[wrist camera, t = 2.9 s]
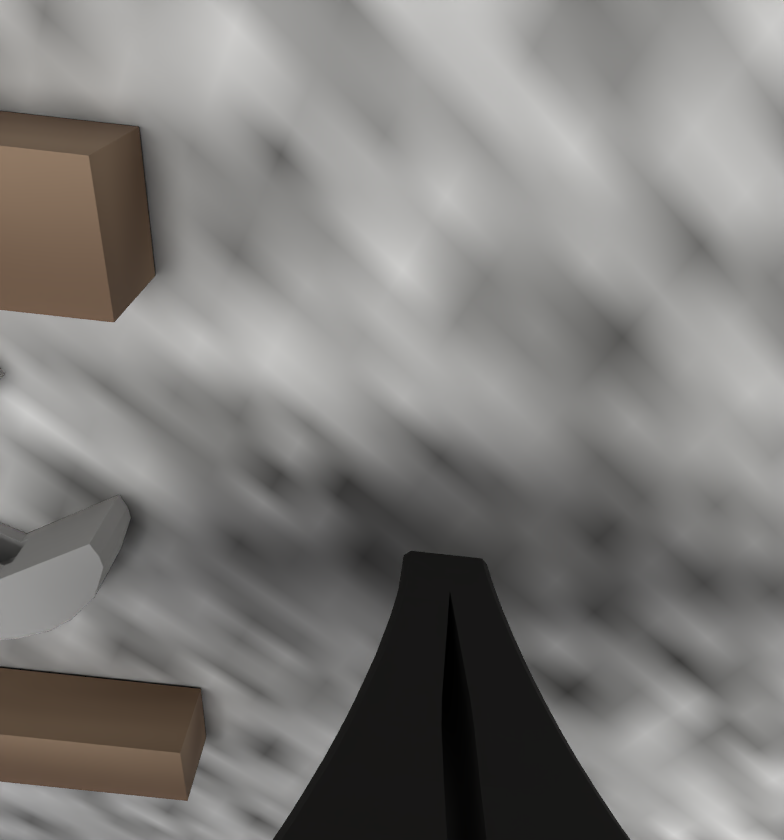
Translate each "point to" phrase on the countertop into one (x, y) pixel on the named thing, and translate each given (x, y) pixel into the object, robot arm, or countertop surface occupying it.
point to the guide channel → (104, 301)
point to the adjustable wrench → (57, 567)
